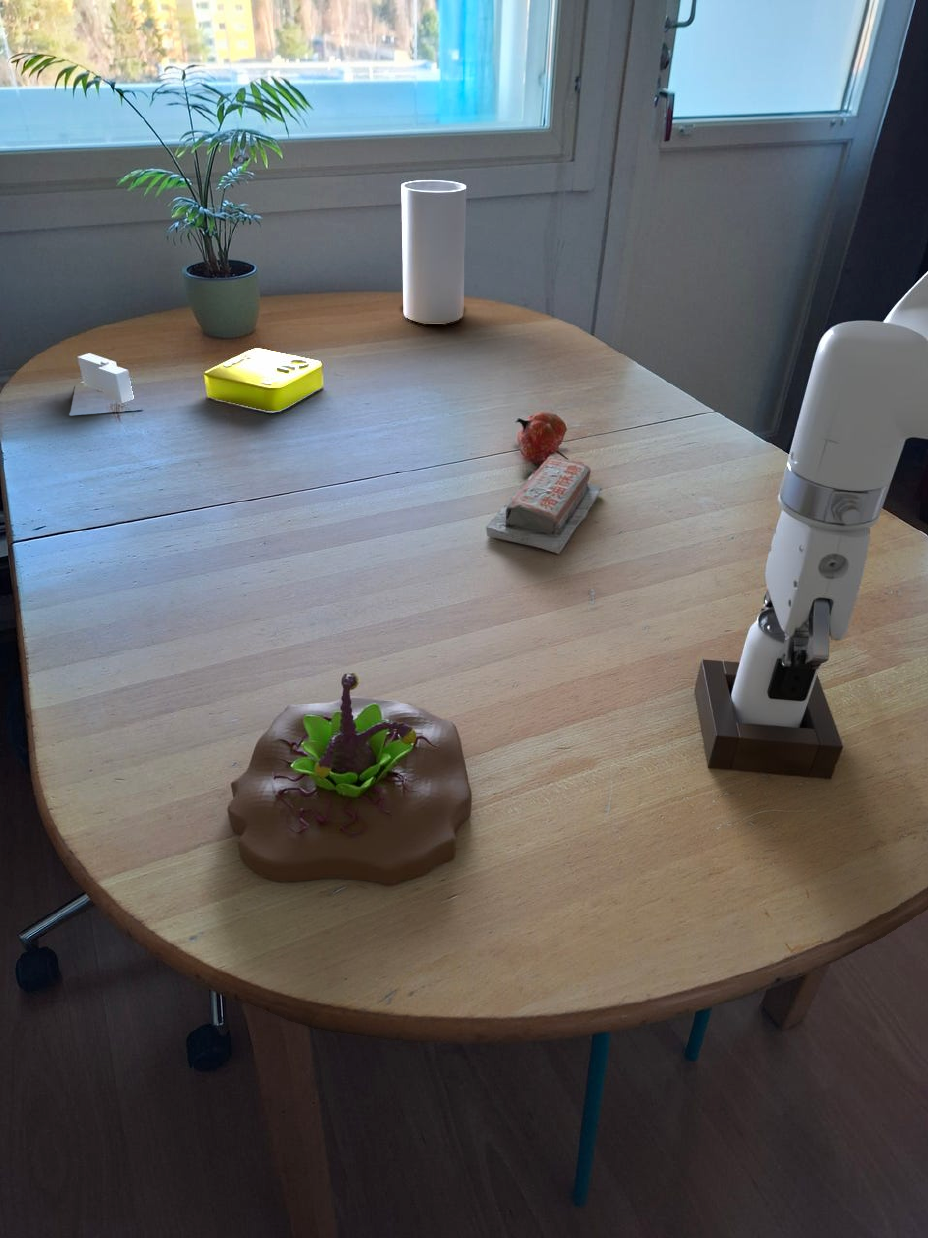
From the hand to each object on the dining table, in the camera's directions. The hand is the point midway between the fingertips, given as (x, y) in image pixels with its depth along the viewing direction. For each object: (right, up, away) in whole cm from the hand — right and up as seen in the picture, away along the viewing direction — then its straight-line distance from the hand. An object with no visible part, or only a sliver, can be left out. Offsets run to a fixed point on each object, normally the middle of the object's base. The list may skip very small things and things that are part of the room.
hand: (778, 670), depth 78 cm
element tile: (-61, +43, +70) cm, 102 cm away
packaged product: (-17, +18, +37) cm, 45 cm away
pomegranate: (-16, +28, +51) cm, 61 cm away
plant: (-37, -10, -3) cm, 39 cm away
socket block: (0, -6, +4) cm, 8 cm away
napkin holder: (-87, +41, +67) cm, 117 cm away
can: (0, -6, +4) cm, 7 cm away
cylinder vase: (-34, +68, +106) cm, 130 cm away
